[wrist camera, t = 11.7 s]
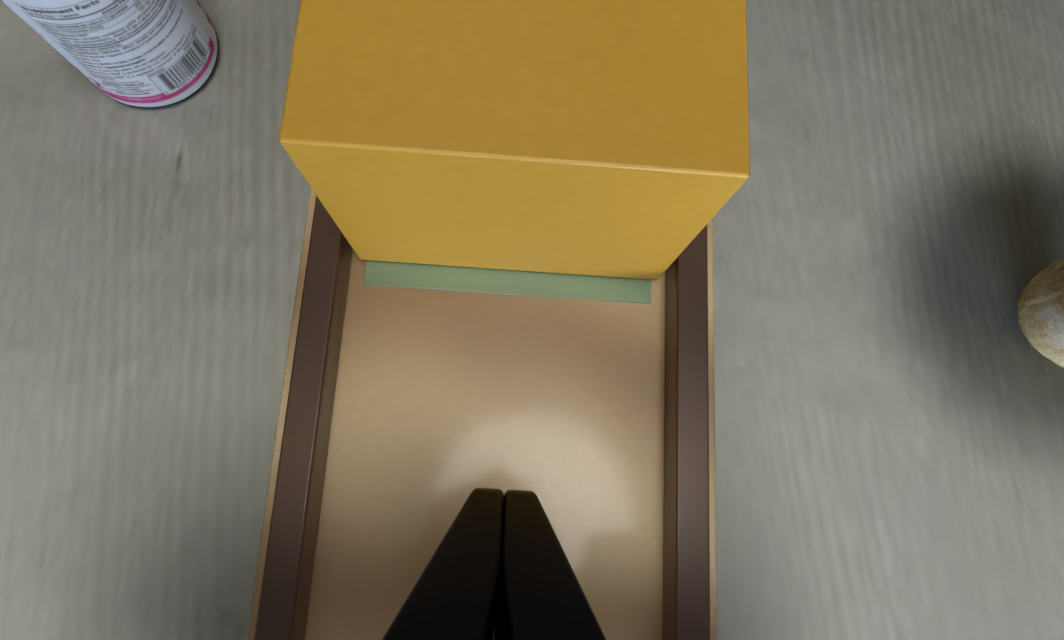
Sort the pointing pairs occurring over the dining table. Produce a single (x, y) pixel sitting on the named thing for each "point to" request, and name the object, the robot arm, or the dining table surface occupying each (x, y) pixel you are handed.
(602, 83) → the ochre block
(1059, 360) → the decorative mushroom
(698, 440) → the maple track
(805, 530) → the dining table surface
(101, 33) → the pill bottle
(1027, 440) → the dining table surface
